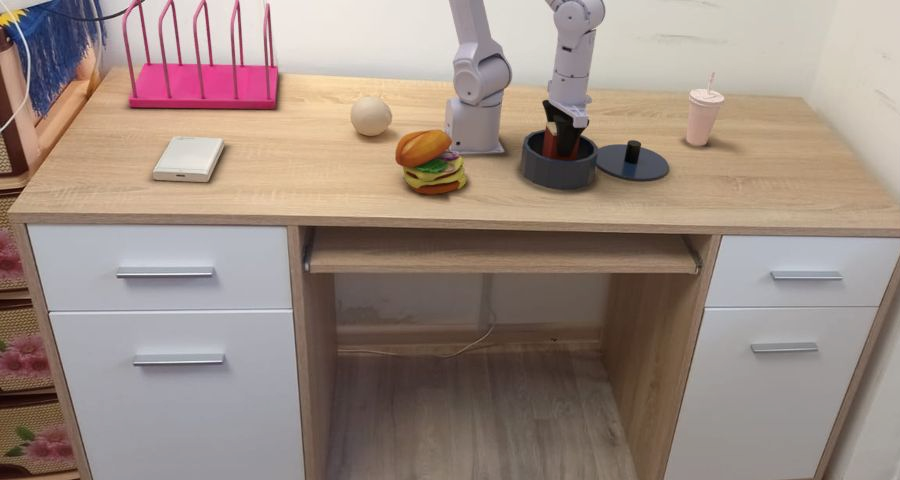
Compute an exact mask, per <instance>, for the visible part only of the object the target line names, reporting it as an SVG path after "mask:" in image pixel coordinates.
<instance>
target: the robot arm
mask: <svg viewBox="0 0 900 480" xmlns="http://www.w3.org/2000/svg"><path fill="white" fill-rule="evenodd" d="M448 2H449V7H450V11H451V15H452V19H453V24H454V28H455V32H456V37H457V41H458V44H459V46H458V49H457V51H456V52H455V55H454V58H453V59H452V66H453V79H452V84H453V89H454V92H455V93H456V95H457V96H456V97H455V96H454V97H449V98H448V99H446V102H445V103H446V104H445V115H444V129H443V130H444V131H443V132H445V133H446V134H447V135H448V136H449V137H450V138H451V140H452V144H451V145H450V147H449V148H448V150H449V151H453V152H456V153H458V154H459V155H476V154H479V155H480V154H503V153H505V149H504V148H503V147H504V146H503V145H502V143H501V142H500V140H499V136H500V128H501V117H502V107H503V97H504V95H505V89H507V88H508V87H509V86H510V84H511V83H512V80H513V69H512V65H510V63H509V61H508V59H507V58H506V56H505V54H504V49H503V47H502V45H501V44H500V43H498V42H497V41H496V40H495V39H493V38H492V34H491V29H490V25H489V20H488V15H487V11H486V7H485V2H484V0H448ZM544 2H546V4H547V5H548V7H549V8H550V9H551V10H552V12H553V13H552V16H553V23H554V26H555V28H556V30H557V41H556V48H555V57H554V64H553V69H552V78H551V80H548V81H547V89H546V92H547V93H548V98H547V99H543V100H542V102H541V103H542V107H543V110H544V112H545V116H546V122H555V124H556V129H557V152H558V156H560V157H562V156H571V154H572V152H573V149H574V147H575V145H576V143H577V140H578V138H579V137H580V135H583V132H584V131H585V130H586V128H588V127H589V126H590V119H589V115H588V113H587V104H589V105H590V104H592V102H593V98H592V96H591V95H589V94H587V91H588V87H589V80H590V73H591V68H592V61H593V55H594V48H595V41H596V37H597V36H596V35H597V29H596V28H598V27H599V26H600V25H601V24H602V23H603V21H604V19H605V17H606V5H605V2H604V0H544Z"/></svg>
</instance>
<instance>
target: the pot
mask: <svg viewBox="0 0 900 480" xmlns="http://www.w3.org/2000/svg"><path fill="white" fill-rule="evenodd" d="M544 136H545V129H541V130H537V131H533V132H530V133H529V134H527V135H526V136H524V139H523V143H522V150H521V159H520V168H519V170H520V173H521V174H522V176H523V178H524V179H527V180H528V181H529V182H531V183H533V184H534V185H538V186H540V187H544V188H546V189H551V190H552V189H553V190H559V191H567V190H569V191H570V190H578V189H582V188H584V187H588V186H589V185H590V184H591V183H592V182H594V178H595V171H596V167H597V166H596V161H597V155H598V149H599V147H598V146H597V144H596V143H595V142H594V140H592V139H590V138H588V137H587V136H586V135H583V134H581V135H580V137H579V143H578V149H577V155H576V161H562V160H555V159H550V158H547V157H544V156H542V151H543V144H544Z"/></svg>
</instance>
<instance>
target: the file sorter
mask: <svg viewBox="0 0 900 480" xmlns="http://www.w3.org/2000/svg"><path fill="white" fill-rule="evenodd" d="M136 5H138V11H139V16H140V17H139V18H140V24H141V31H142V37H143V44H144V51H145V57H146V62H145V63H143V65H142V67H141V69H140V72H139V74H138V77H137V78H136V79H135V73H134V68H133V62H132V55H131V50H130V43H129V37H128V31H127V21H128V17H129V15H130V14H131V12H132V11H133V9H134V7H135V6H136ZM270 5H271V4H270V3H268V2H267V3H265V9H264V17H263V26H262V27H263V28H262V29H263V31H262V33H263V52H264V53H263V54H264V65H263V64H262V65H259V64H256V65H255V64H245V63H244V49H243V48H244V47H243V32H242V29H243V28H242V17H241V16H242V15H241V13H242V12H241V4H240V0H235V1H234V5H233V10H232V13H231V18H230V27H229V29H230V32H229V33H230V48H231V60H232V64H221V63H219V64H217V63H214V59H213V49H212V39H211V28H210V17H209V11H208V10H209V9H208V3H207V1H206V0H200V2H199V4H198V6H197V8H196V11H195V13H194V14H193V18H192V19H193V20H192V30H193V31H192V32H193V41H194V50H195V57H196V58H195V59H196V63H183V61H182V52H181V45H180V36H179V28H178V21H177V12H176V6H175V1H174V0H167V1H166V3H165V5H164V7H163V9H162V11H161V12H160V15H159V17H158V24H157V25H158V26H157V27H158V38H159V39H158V40H159V47H160V53H161V60H162V63H161V62H151V56H150V49H149V42H148V36H147V30H146V24H145V23H146V22H145V16H144V11H143V5H142V1H141V0H132V1H131V3H130V5H129V6H128V8H127V9H126V11H125V12H124V13H123V16H122V22H121V23H122V28H121V29H122V37H123V41H124V48H125V54H126V60H127V65H128V72H129V77H130V83H131V93H130V95H129V97H128V103H129V107H130V108H158V109H159V108H162V109H163V108H164V109H165V108H167V109H245V110H246V109H247V110H248V109H250V110H252V109H253V110H255V109H257V110H258V109H259V110H263V109H264V110H275V109H276V105H277V104H276V102H277V93H278V81H279V80H278V79H279V66H277V65H274V51H273V50H274V49H273V34H272V33H273V32H272V19H271V18H272V17H271V16H272V15H271V6H270ZM170 6H171V13H172V20H173V28H174V35H175V45H176V51H177V60H178V63H173V62H172V63H171V62H170V63H169V62H168V63H167V57H166V51H165V50H166V49H165V44H164V43H165V42H164V36H163V35H164V34H163V20H164V18H165V15H166V14H167V12H168V10H169V8H170ZM202 9H203V10H204V18H205V27H206V28H205V30H206V38H207V49H208V59H209V63H201V56H200V55H201V54H200V48H199V47H200V45H199V39H198V38H199V37H198V30H197V26H198V25H197V21H198V17H199V15H200V13H201V11H202ZM236 14H237V27H238V40H239V41H238V44H239V61H240V64H236V61H237V60H236V49H235V47H236V45H235V20H236ZM268 44H269V45H268ZM268 46H269V51H268ZM268 52H269V53H268ZM269 60H270V61H269ZM269 62H270V65H269Z"/></svg>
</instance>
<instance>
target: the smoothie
mask: <svg viewBox="0 0 900 480" xmlns="http://www.w3.org/2000/svg"><path fill="white" fill-rule="evenodd" d="M715 73H716V71H715V70H713V71H711V74H710V78H709V81H708V84H707V85H708V86H707V88H695V89H692V90H690V92H689V95H688V100H689V106H688V117H687V126H686V135H685V136H686V137H685V141H686V142H687V143H689V144H690V145H693V146H705V145H706V144H707V143H708V140H709V138H710V135H711V132H712V129H713V127H714V124H715V122H716V120H717V117H718V114H719V112H720V109H721V107H722V106H724V104H725V96H724V95H723V94H721V93H720V92H717V91H716V90H712V86H713V81H714V77H715V75H716V74H715Z"/></svg>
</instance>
